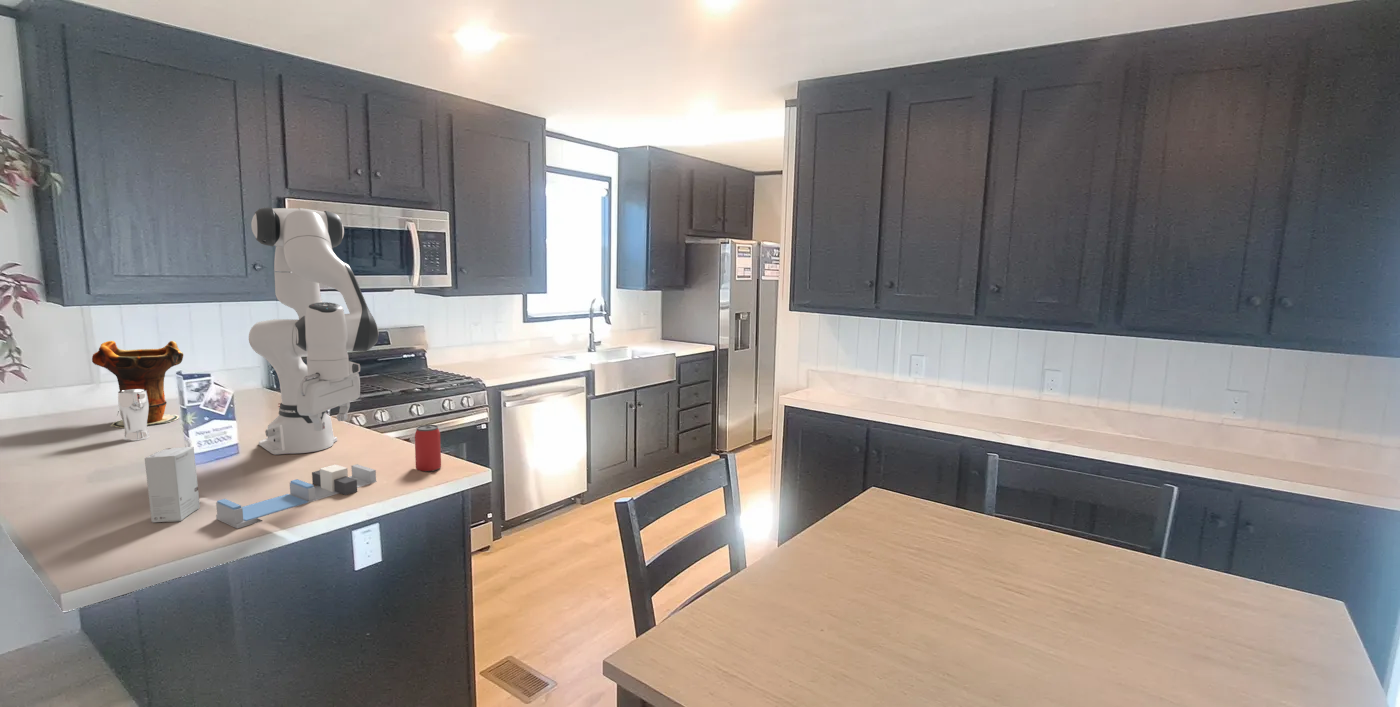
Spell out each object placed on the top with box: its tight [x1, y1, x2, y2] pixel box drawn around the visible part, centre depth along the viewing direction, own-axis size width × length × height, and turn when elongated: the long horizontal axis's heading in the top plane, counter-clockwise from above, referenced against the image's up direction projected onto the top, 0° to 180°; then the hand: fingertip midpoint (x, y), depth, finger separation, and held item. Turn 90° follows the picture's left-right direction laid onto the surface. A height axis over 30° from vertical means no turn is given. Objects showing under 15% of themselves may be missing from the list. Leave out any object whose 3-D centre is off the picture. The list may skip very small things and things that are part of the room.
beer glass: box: [117, 389, 151, 442], centre depth 198 cm, size 7×7×15 cm
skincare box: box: [144, 446, 201, 523], centre depth 143 cm, size 8×6×15 cm
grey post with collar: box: [311, 463, 358, 496], centre depth 161 cm, size 14×4×5 cm, turn 60°
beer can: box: [414, 424, 442, 473], centre depth 179 cm, size 7×7×12 cm
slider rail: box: [215, 463, 378, 530], centre depth 154 cm, size 9×32×4 cm, turn 150°
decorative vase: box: [91, 340, 184, 429], centre depth 217 cm, size 21×23×28 cm
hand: (331, 425), depth 159 cm, fingers open, 8 cm apart
